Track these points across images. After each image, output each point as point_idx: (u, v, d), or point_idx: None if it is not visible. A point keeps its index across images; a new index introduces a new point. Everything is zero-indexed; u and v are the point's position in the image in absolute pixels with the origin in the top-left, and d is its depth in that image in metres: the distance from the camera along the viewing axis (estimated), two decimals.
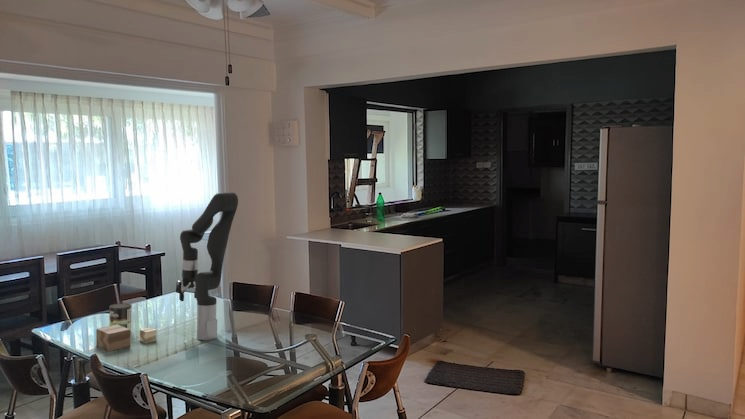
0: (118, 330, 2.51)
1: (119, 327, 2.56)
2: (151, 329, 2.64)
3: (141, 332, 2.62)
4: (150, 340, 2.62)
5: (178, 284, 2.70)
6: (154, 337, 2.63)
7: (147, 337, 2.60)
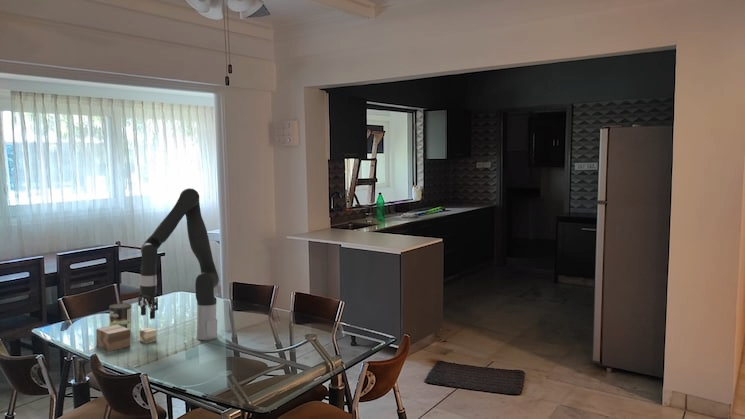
0: (118, 330, 2.51)
1: (119, 327, 2.56)
2: (151, 329, 2.64)
3: (141, 332, 2.62)
4: (150, 340, 2.62)
5: (156, 301, 2.59)
6: (154, 337, 2.63)
7: (147, 337, 2.60)
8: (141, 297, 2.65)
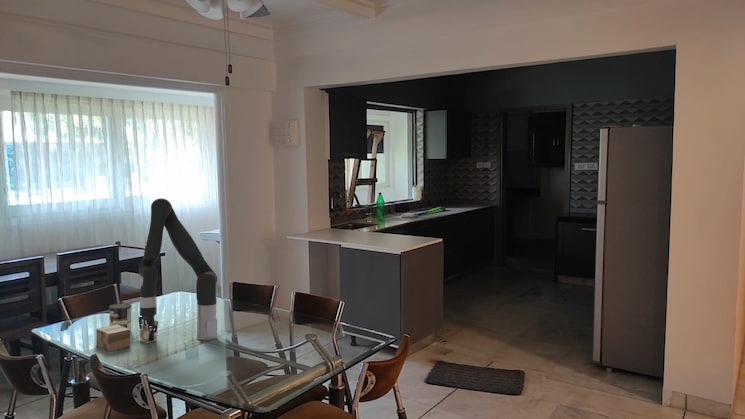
0: (118, 330, 2.51)
1: (119, 327, 2.56)
2: None
3: (141, 332, 2.62)
4: None
5: (156, 324, 2.59)
6: (154, 337, 2.63)
7: (147, 337, 2.60)
8: (141, 320, 2.66)
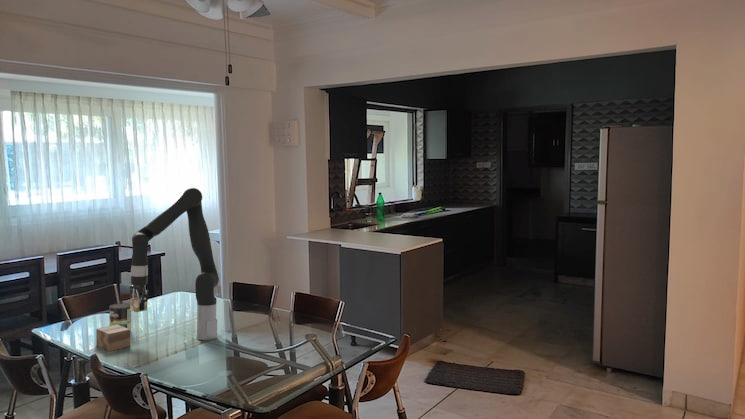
0: (118, 330, 2.51)
1: (119, 327, 2.56)
2: None
3: (132, 301, 2.59)
4: None
5: (146, 293, 2.56)
6: (145, 306, 2.60)
7: (137, 306, 2.57)
8: (132, 289, 2.63)
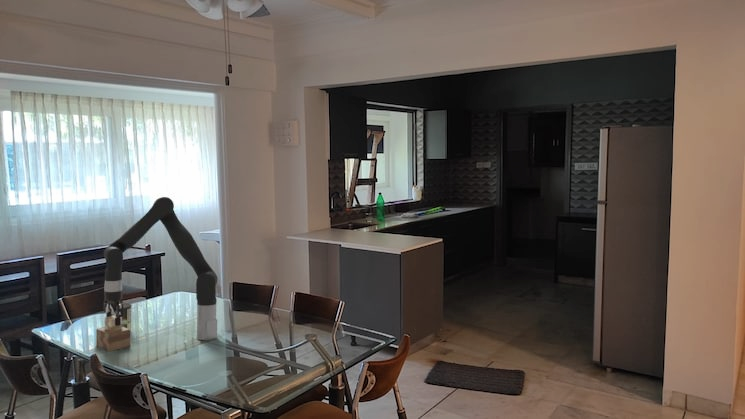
0: (118, 330, 2.51)
1: None
2: None
3: (106, 320, 2.52)
4: (115, 328, 2.52)
5: (121, 307, 2.49)
6: (120, 325, 2.53)
7: (112, 325, 2.50)
8: (106, 303, 2.56)
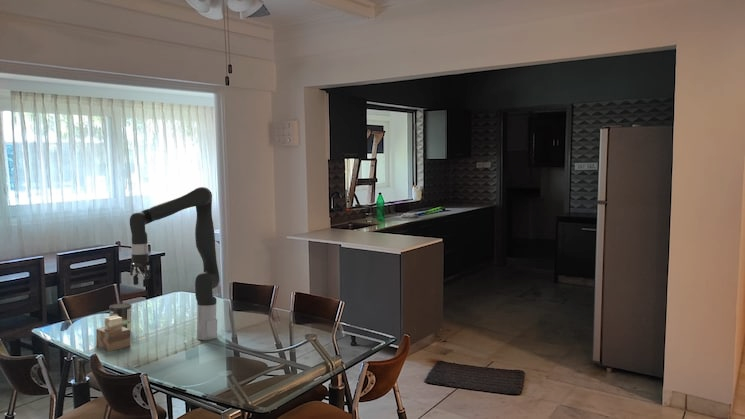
0: (118, 330, 2.51)
1: None
2: (117, 317, 2.54)
3: (106, 320, 2.52)
4: (115, 328, 2.52)
5: (148, 268, 2.61)
6: (120, 325, 2.53)
7: (112, 325, 2.50)
8: (133, 267, 2.67)
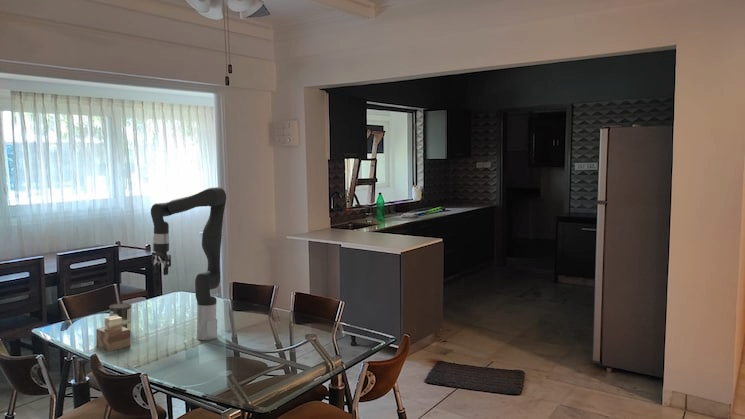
0: (118, 330, 2.51)
1: None
2: (117, 317, 2.54)
3: (106, 320, 2.52)
4: (115, 328, 2.52)
5: (169, 257, 2.72)
6: (120, 325, 2.53)
7: (112, 325, 2.50)
8: (154, 255, 2.79)
